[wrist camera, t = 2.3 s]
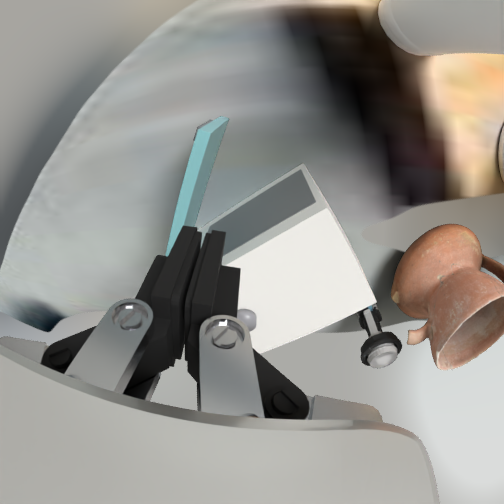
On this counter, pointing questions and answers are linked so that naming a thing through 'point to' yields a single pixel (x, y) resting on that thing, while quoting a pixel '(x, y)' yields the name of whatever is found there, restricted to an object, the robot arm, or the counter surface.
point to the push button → (377, 340)
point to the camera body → (290, 261)
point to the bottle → (444, 25)
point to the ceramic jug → (451, 294)
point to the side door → (197, 175)
